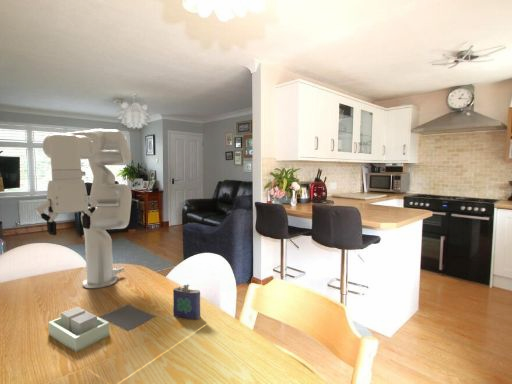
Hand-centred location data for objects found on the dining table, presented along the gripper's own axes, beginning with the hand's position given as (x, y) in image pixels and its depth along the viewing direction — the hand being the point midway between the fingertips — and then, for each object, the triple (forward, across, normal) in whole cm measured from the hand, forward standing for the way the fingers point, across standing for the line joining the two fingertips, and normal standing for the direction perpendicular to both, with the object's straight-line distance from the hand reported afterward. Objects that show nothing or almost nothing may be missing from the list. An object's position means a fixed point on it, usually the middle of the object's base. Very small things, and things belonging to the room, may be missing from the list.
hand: (70, 231), depth 90 cm
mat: (+28, -8, +15) cm, 32 cm away
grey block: (+27, +5, +15) cm, 31 cm away
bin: (+27, +5, +12) cm, 30 cm away
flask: (+28, -18, +30) cm, 45 cm away
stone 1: (+27, +5, +9) cm, 29 cm away
